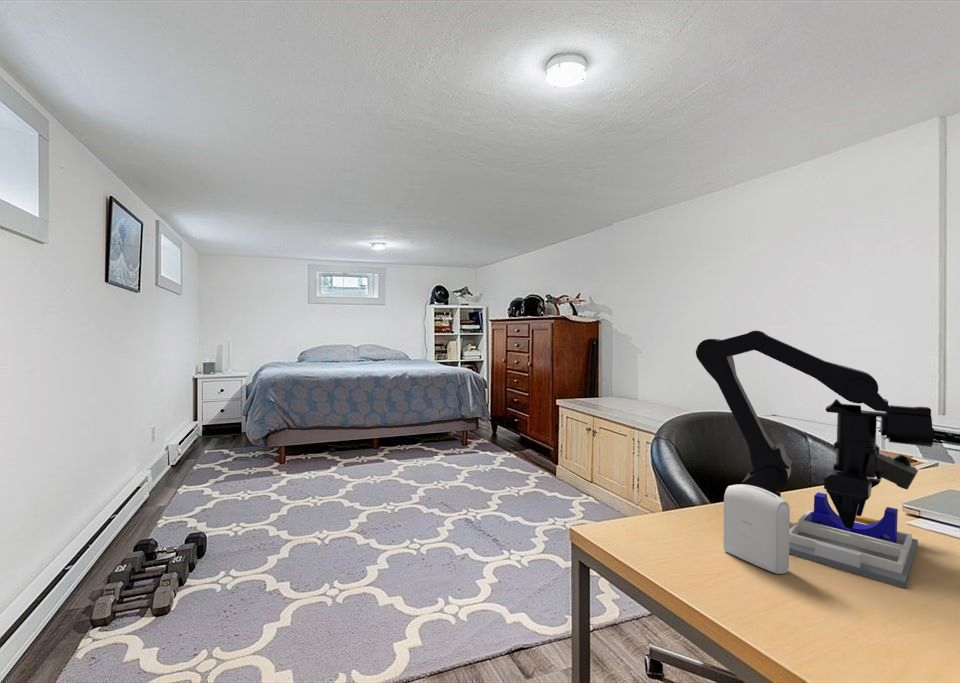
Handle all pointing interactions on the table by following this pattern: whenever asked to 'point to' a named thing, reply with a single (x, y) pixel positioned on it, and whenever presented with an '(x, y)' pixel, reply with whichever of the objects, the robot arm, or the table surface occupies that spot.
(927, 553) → the table surface
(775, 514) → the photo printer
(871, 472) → the robot arm
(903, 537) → the dock board
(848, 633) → the table surface
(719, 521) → the table surface
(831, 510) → the blue curved cradle
